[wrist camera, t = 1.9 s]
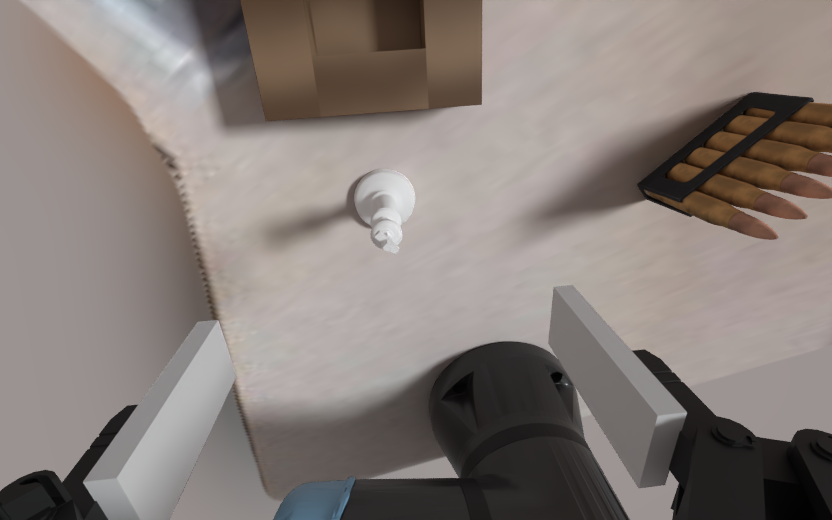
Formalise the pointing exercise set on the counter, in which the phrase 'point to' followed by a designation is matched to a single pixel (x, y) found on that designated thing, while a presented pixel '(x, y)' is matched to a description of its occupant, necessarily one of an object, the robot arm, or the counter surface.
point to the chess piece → (385, 206)
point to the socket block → (364, 55)
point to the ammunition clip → (749, 164)
